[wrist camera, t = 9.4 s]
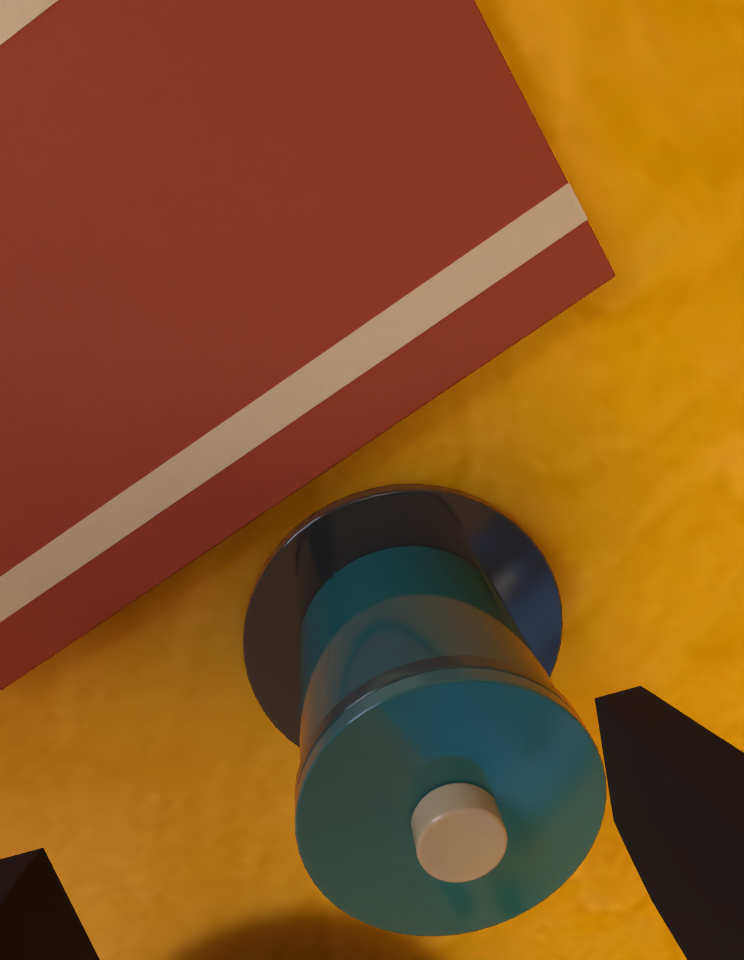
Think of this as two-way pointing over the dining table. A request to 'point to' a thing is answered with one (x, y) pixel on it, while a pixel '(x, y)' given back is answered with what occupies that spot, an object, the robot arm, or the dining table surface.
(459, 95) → the tea towel
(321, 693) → the pot
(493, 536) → the polished metal trivet
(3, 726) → the dining table surface
